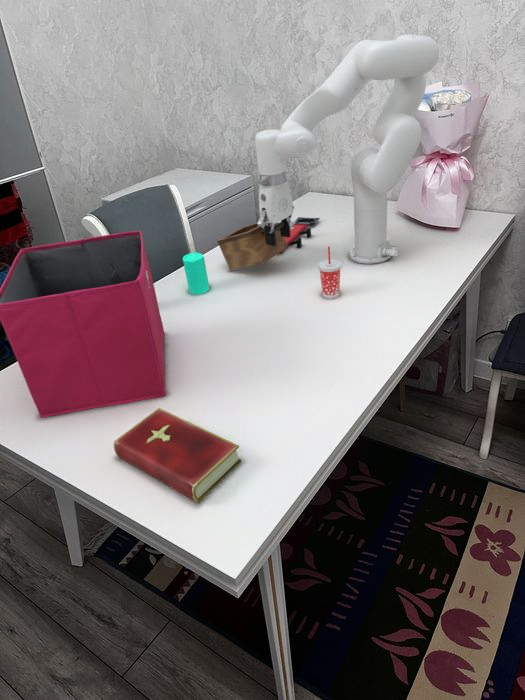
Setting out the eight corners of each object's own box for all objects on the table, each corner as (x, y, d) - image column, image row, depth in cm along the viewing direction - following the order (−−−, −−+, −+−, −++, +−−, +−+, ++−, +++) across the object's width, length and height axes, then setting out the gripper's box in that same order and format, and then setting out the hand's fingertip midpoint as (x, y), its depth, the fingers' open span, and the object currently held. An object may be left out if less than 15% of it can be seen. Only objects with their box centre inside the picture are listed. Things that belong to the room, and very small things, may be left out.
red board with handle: (325, 220, 198) (287, 219, 205) (324, 213, 197) (286, 211, 203) (292, 255, 177) (250, 252, 183) (291, 247, 175) (249, 244, 182)
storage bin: (171, 397, 120) (142, 278, 105) (37, 422, 118) (-13, 304, 103) (168, 332, 144) (144, 228, 128) (56, 352, 141) (18, 248, 126)
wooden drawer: (300, 244, 165) (288, 213, 162) (274, 260, 157) (261, 228, 154) (255, 255, 179) (243, 226, 176) (229, 270, 172) (217, 241, 169)
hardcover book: (196, 504, 94) (192, 487, 92) (117, 458, 106) (111, 441, 103) (241, 461, 101) (238, 444, 99) (162, 422, 113) (158, 406, 111)
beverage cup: (321, 289, 155) (318, 242, 148) (343, 289, 154) (341, 241, 146) (318, 299, 150) (315, 251, 143) (341, 299, 149) (339, 251, 141)
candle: (189, 286, 166) (181, 249, 159) (209, 284, 166) (202, 246, 159) (188, 295, 161) (181, 257, 154) (209, 293, 161) (202, 254, 154)
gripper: (263, 189, 144) (270, 254, 154) (302, 171, 155) (306, 232, 165) (242, 186, 148) (249, 249, 158) (281, 168, 159) (286, 228, 169)
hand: (278, 240), depth 161 cm, fingers closed on wooden drawer, 6 cm apart
